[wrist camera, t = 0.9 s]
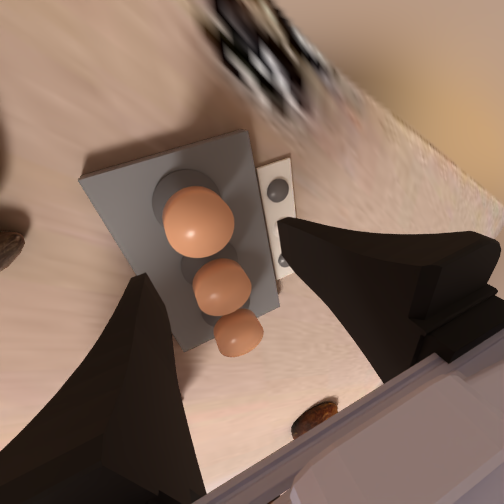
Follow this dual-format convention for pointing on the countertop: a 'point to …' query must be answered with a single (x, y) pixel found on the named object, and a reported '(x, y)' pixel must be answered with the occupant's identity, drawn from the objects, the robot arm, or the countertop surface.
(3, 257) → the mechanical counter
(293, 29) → the countertop surface
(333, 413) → the bread roll
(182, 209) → the button
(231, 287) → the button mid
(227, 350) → the button
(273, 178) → the card
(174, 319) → the board
